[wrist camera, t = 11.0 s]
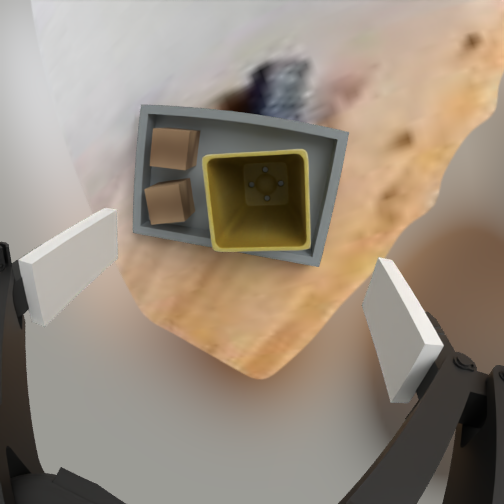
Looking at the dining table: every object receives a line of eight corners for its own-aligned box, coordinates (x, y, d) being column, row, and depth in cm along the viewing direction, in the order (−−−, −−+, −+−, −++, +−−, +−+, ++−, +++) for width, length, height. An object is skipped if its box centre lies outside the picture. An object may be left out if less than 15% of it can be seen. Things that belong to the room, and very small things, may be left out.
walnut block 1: (167, 127, 33) (153, 128, 29) (200, 130, 33) (189, 131, 29) (163, 161, 35) (149, 166, 31) (196, 165, 34) (185, 170, 31)
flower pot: (229, 223, 37) (211, 253, 28) (222, 147, 33) (200, 155, 25) (306, 220, 36) (311, 250, 27) (303, 143, 32) (308, 148, 24)
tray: (152, 105, 33) (141, 104, 30) (344, 131, 32) (349, 132, 29) (143, 224, 39) (132, 232, 36) (317, 256, 38) (318, 267, 35)
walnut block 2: (158, 182, 36) (144, 189, 32) (189, 177, 35) (178, 184, 31) (164, 214, 37) (151, 224, 34) (195, 211, 37) (184, 221, 33)
